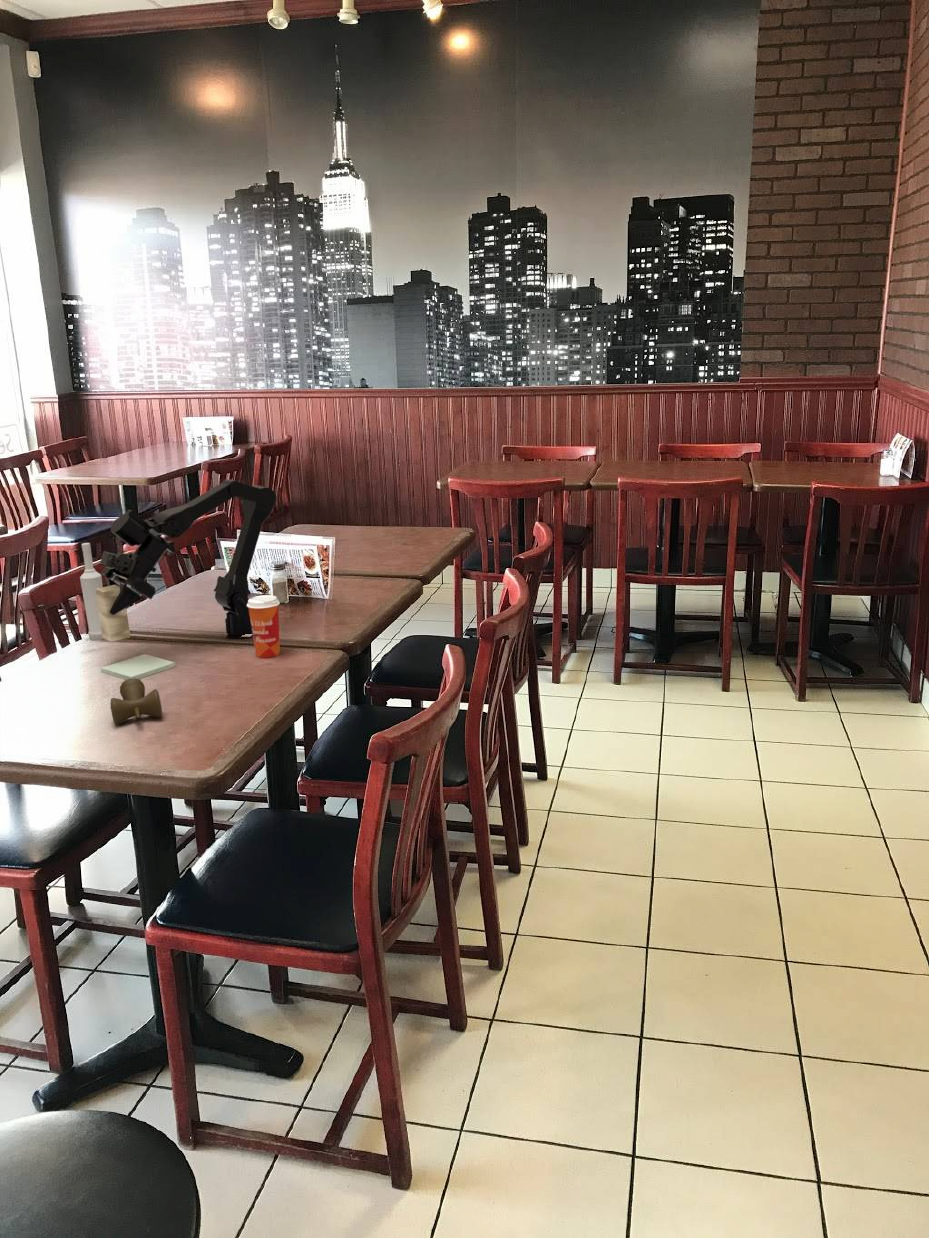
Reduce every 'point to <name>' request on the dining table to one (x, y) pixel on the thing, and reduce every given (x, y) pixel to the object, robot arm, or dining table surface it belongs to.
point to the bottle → (91, 594)
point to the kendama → (135, 702)
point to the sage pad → (138, 667)
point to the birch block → (111, 624)
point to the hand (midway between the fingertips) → (106, 611)
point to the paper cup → (265, 625)
